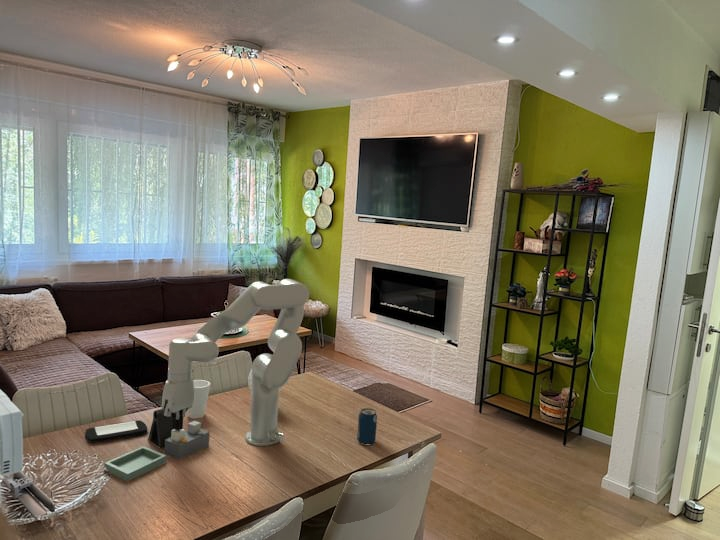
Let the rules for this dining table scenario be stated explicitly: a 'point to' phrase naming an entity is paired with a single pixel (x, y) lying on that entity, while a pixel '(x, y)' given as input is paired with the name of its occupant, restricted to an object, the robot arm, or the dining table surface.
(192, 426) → the block
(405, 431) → the dining table surface
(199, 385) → the foam cup
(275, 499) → the dining table surface
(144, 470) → the tray
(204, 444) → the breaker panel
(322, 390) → the dining table surface
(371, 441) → the soda can
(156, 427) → the phone stand
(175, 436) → the block
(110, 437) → the light switch
